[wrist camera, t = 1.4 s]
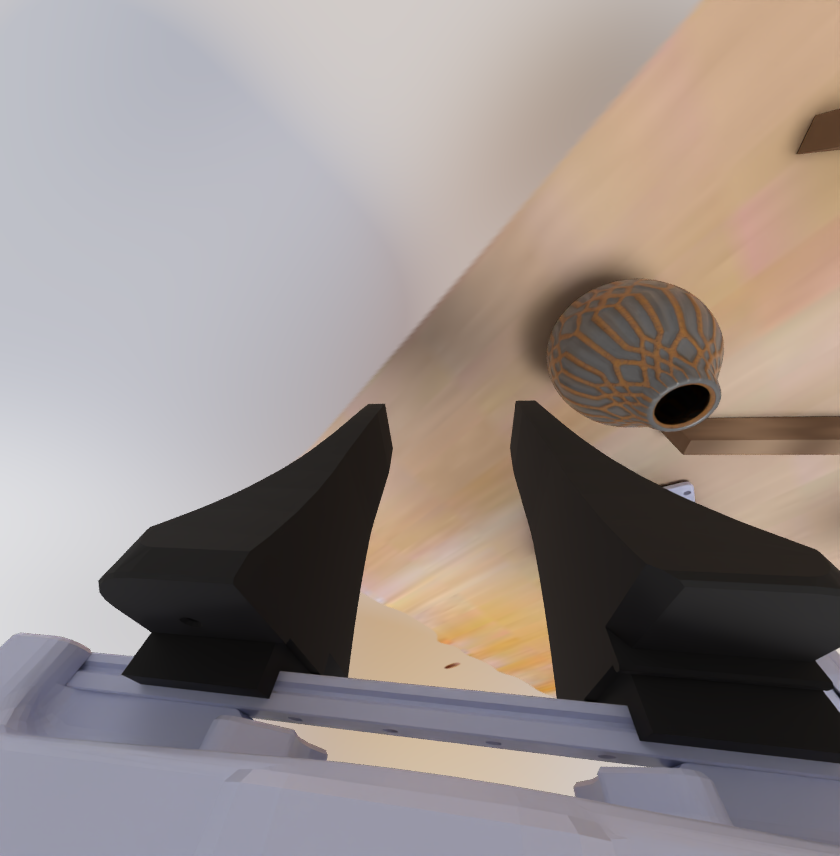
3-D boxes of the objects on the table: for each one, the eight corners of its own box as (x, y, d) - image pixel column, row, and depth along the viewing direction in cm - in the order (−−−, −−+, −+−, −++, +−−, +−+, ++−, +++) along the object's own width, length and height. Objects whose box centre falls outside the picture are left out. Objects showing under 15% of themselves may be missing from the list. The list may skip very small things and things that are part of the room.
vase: (515, 320, 18) (554, 388, 11) (637, 238, 15) (796, 259, 8) (562, 400, 21) (617, 494, 14) (673, 343, 18) (814, 426, 11)
